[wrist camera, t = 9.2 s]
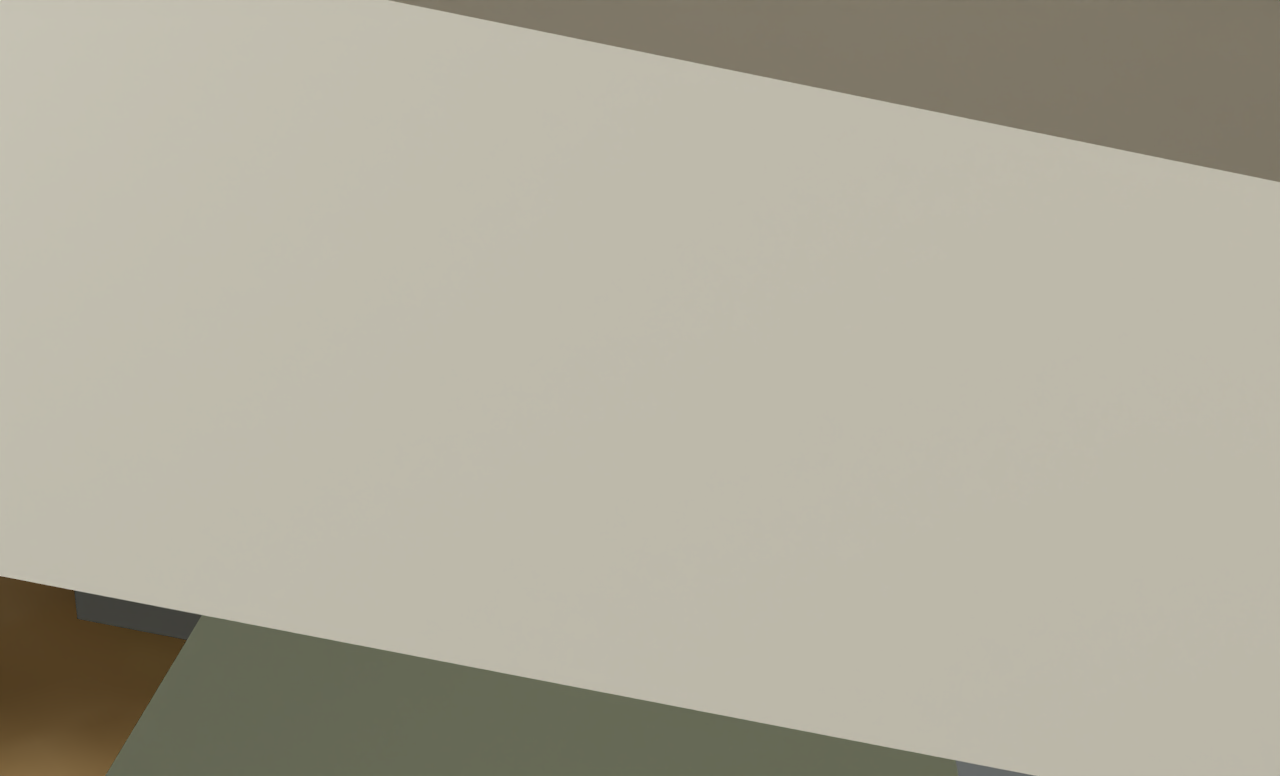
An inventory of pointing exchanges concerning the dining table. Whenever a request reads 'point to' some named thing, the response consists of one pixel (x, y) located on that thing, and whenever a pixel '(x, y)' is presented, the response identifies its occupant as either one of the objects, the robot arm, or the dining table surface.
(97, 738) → the dining table surface
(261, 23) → the domino
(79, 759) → the dining table surface
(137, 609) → the domino mat
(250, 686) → the domino
